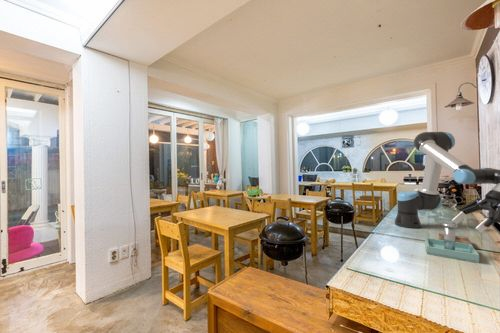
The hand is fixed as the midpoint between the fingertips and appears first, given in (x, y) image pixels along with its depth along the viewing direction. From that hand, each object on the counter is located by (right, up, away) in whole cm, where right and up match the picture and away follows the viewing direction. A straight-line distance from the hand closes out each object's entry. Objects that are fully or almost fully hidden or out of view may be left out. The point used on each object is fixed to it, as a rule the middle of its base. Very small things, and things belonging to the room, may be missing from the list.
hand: (465, 226), depth 110 cm
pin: (-7, -12, +1) cm, 14 cm away
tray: (-7, -13, +1) cm, 15 cm away
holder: (+6, -13, +13) cm, 19 cm away
